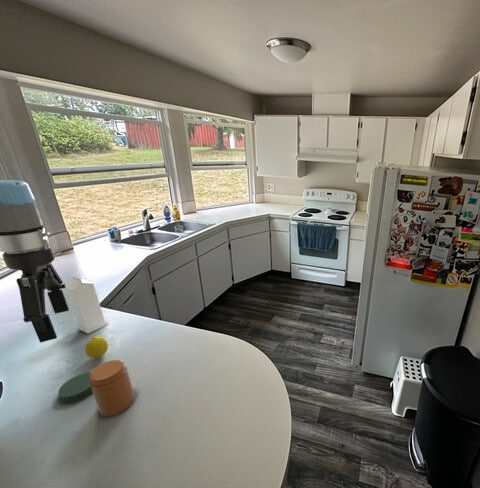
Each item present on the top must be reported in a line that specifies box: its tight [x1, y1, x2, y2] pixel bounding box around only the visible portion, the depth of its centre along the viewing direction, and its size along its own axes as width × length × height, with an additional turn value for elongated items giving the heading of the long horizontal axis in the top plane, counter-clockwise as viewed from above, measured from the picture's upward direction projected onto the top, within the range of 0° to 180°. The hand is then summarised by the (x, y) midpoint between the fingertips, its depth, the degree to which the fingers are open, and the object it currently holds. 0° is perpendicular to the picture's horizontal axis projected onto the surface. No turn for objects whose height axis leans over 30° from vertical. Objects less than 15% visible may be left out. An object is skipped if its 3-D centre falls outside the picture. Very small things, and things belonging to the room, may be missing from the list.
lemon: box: [84, 336, 109, 359], centre depth 83 cm, size 6×6×8 cm
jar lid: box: [57, 371, 93, 404], centre depth 72 cm, size 8×8×2 cm
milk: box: [64, 275, 107, 335], centre depth 95 cm, size 6×6×22 cm
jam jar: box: [89, 359, 136, 417], centre depth 67 cm, size 8×8×12 cm
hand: (56, 324), depth 65 cm, fingers open, 13 cm apart
